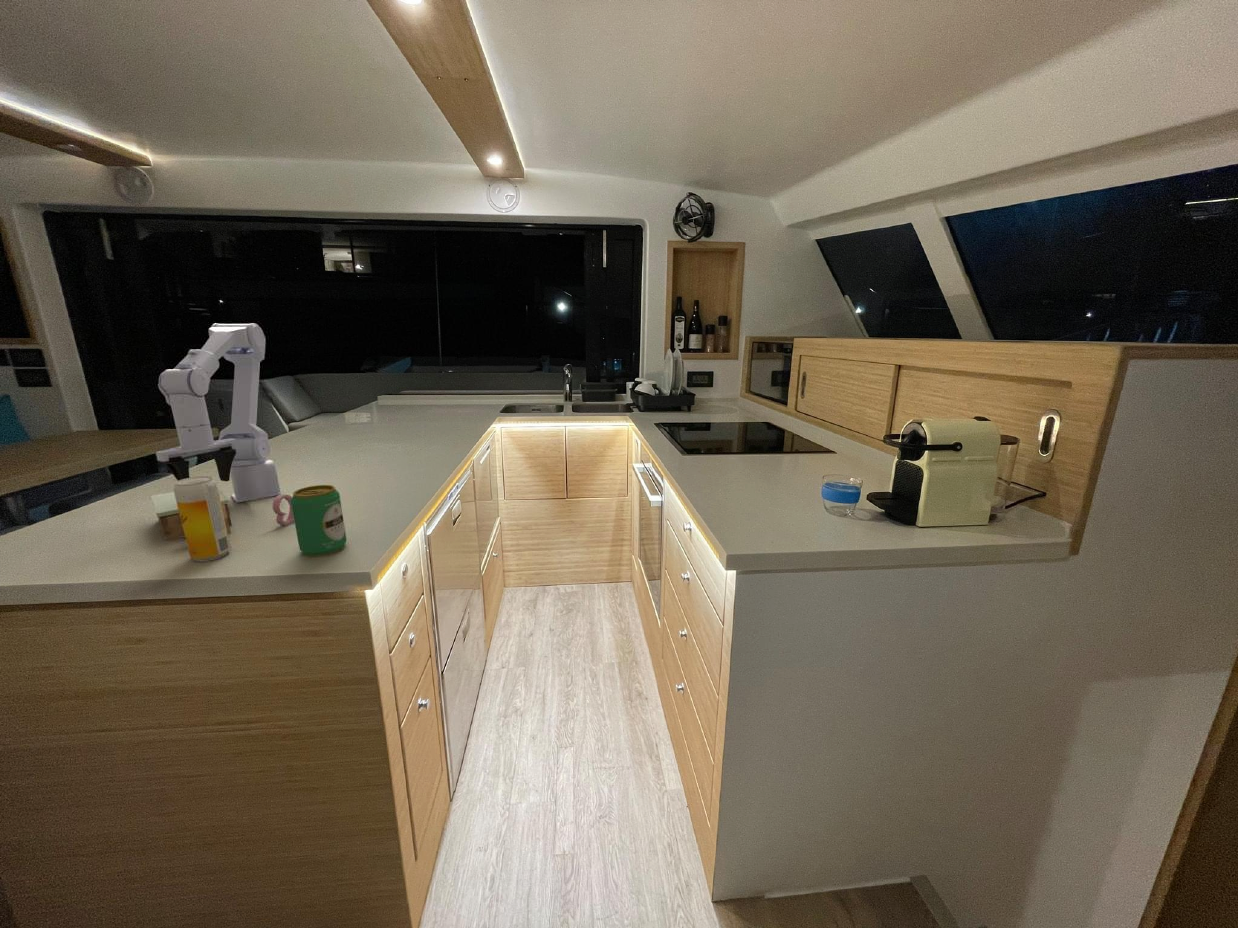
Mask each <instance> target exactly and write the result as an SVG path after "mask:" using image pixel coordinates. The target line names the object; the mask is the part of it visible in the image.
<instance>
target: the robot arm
mask: <svg viewBox="0 0 1238 928" xmlns="http://www.w3.org/2000/svg"><path fill="white" fill-rule="evenodd" d="M208 336H209V338H208V339H207V341H206V342H205V344H203V346H202V347H201V349H189V350H188V352H187V355H186V356H184V358H183V359H181V361H179V363H178V364H177V365H176V366H175V367H174V368H173V369H170V368H169V369H165V370H164V371H163V372H161V373H160V375H159V377H158V384H157V387H158V389H159V391H160V393H161V394H162V395H163V396H164V398H165V401H166V404H168V406H170V407H171V411H172V416H173V420H174V424H175V429H176V432H177V436H178V440H179V445H180V446H176V447H171V448H168V449H164V450H159V451H158V450H157V451H156V452H155V455H156V459H157V461H158V462H161V464H162V465H163V466H164V467H166V469H167V470H168V471H169V472H170V473H171V474H172V475H173V476H174V478H175V479H176V480H177V481H179V480H182V479H186V478H191V477H190V461H189V460H185V457H190V456H196V455H200V454H205V453H210V454H211V455H212V457H213V459H214V462H215V465H216V467H217V472H218V478H219V479H220V480H219V481H222V482H230V480H231V483H232V488H233V493H232V494H231V495H230V496H231V498H232V499H233V500H234V501H235V503H236V504H237V503H238V504H239V503H244V502H249V501H254V500H258V499H259V500H260V499H264V498H269V497H273V496H278V495H282V493H281V488H280V484H279V483H280V482H279V479H278V478H279V477H278V473H277V468H276V464H275V462H274V461H273V460H272V459H268V458H269V456H270V453H271V447H270V444H269V435H268V433H267V432H266V431H265V430H263V429H262V428H260V427H259V426H257V419H258V418H257V417H258V416H257V415H258V400H259V398H258V397H259V382H260V368H261V366H260V363H261V362H262V361H263V360H265V354H266V340H267V339H266V336H265V334H264V331H263V329H262V328H261V327H260V326H259V324H257V323H254V322H253V323H251V322H250V323H219V322H218V323H216V322H215V323H213V324H212V325H211V326H210V327H209V328H208ZM222 357H223V358H224V359H225V361H229V362H231V363H233V365H234V372H233V373H234V374H233V375H234V376H233V377H234V378H233V389H232V390H233V392H232V403H231V404H232V405H231V406H232V407H231V417H230V418H231V420H230V424H228V426H226V427H225V428H224V429H221V430H220V431H219V436H218V440H214V435H213V431H212V430H213V429H212V427H211V421H210V418H209V412H208V407H207V404H206V400H205V395H206V394H208V392H209V388H210V387H209V386H210V382H211V377H212V376H213V375H214V374H215V372H216V371H217V370H218V369H219V368H220V361H219V360H220V359H221V358H222ZM177 481H176V482H177Z"/></svg>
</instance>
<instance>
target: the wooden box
mask: <svg viewBox="0 0 1238 928" xmlns="http://www.w3.org/2000/svg"><path fill="white" fill-rule="evenodd" d="M225 509H226V513H227V518H228V522H229V527H232V526H233V523H232V519H231V514H230V510H229V506H228V504H225ZM157 518H158V521H159V524H160V527H161V530H162V533H163V536H164V540H165V541H169V540H174V539H178V538H183V537H185V534H184V530H183V526H182V522H181V518H180V514H179V513H177V514H172V515H167V516H162V517H157Z"/></svg>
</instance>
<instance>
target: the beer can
mask: <svg viewBox="0 0 1238 928" xmlns="http://www.w3.org/2000/svg"><path fill="white" fill-rule="evenodd" d="M217 486H218V485H217V482H216V481H215V479H213V476H209V475H208V476H207V475H205V476H203V475H200V476H193V477H190V478H186V479H182V480H179V481H175V482H174V486H173V492H174V494H175V498H176V502H177V506H178V510H179V514H180V518H181V522H182V526H183V530H184V534H185V536H184V537H185V542H186V546H187V551H188V553H189V558H191V559H193V560H194V561H195V562H208V561H214V560H217V559H221V558H223V557H225V556H226V555H228V554H229V551H230V550H231V549H232V547H231V543H230V538H229V534H228V533H227V528H226V524H225V519H224V515H223V510H222V506H221V502H220V497H219V493H218V488H217Z"/></svg>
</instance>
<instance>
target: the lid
mask: <svg viewBox="0 0 1238 928" xmlns="http://www.w3.org/2000/svg"><path fill="white" fill-rule="evenodd" d="M217 488H218V493H219V497H220V502H224V504H227V505H228V504H229V498H227V496H226V495H225V494H224V492H223V491H222V490H221V489H220V488H219V486H218V485H217ZM150 498H151V501H152V504H153V507H154V510H155V513H156V516H157V518H158V517H162V516H167V515H172V514H177V513H179V510H178V506H177V502H176V498H175V494H174V491H172V492H167V493H166V492H165V493H159V494H155V495H150Z"/></svg>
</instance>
